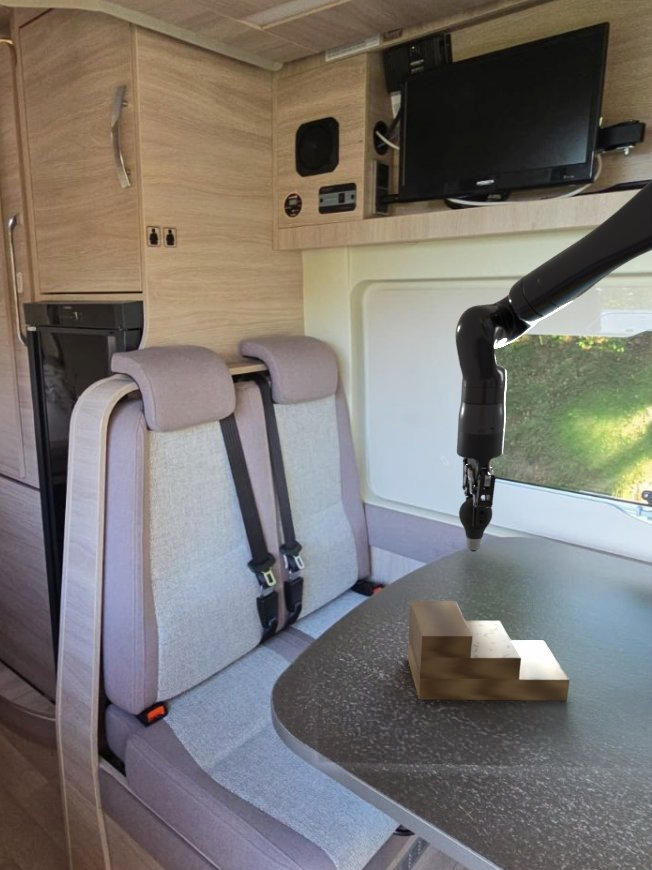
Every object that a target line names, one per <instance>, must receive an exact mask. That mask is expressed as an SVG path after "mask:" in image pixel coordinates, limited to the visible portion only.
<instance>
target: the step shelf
mask: <svg viewBox="0 0 652 870" xmlns="http://www.w3.org/2000/svg"><path fill="white" fill-rule="evenodd" d="M408 622H409V625H408V645H407V646H408V648H407V661H408V665H409V668H410V671H411V675H412V679H413V683H414V685H415V687H414V688H415V690H416V694H417V697H418V700H440V701H441V700H443V701H445V700H447V701H449V700H451V701H452V700H453V701H455V700H457V701H460V700H461V701H540V702H542V701H543V702H544V701H545V702H547V701H550V702H553V701H554V702H567V701H568V694H569V687H570V678H569V677H568V676H567V674H566V672H565V671H564V669H563V668H562V666H561V665H560V663H559V661H558V660H557V659H556V657H555V655H554V654H553V652H552V651H551V649H550V648H549V647H548V644H547V643H546V642H545V640H543V639H542V640H541V639H539V640H538V639H537V640H535V639H534V640H531V639H530V640H528V639H527V640H523V639H522V640H520V639H517V640H512V639H511V638H510V636H509V634H508V633H507V631H506V629H505V628H504V626H503V623H502V622H501V620H466V619H465V618H464V616H463V613H462V611H461V609H460V607H459V605H458V603H457V600H410V601H409V621H408Z"/></svg>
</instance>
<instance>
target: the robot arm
mask: <svg viewBox="0 0 652 870" xmlns="http://www.w3.org/2000/svg"><path fill="white" fill-rule="evenodd" d="M650 251H652V179H651V180H650V181H649V182H648V183H647V184H646V185H645V186H643V187H642V188H641V189H640V190H639V191H638V192H637V193H635V194H634V195H633V196H632V197H631V198H630V199H629V200H628V201H627V202H626V203H625V204H623V205H622V206H621V207H620V208H619V209H618V210H617V211H615V212H614V213H613V214H612V215H610V216H609V217H607V219H606V220H605V221H603V222H602V223H601V224H599V225H597V226H596V228H594V229H593V230H591V231H590V232H589V233H586V235H584V236H583V237H582V238H580V239H579V240H577V241H576V242H574V243H573V244H571V245H570V246H568V247H566V248H565V249H564V250H562V251H561V252H558V254H556V255H554V256H553V257H551V258H549V259H548V260H546V261H545V262H544V263H542V264H540V265H538V266H537V267H536V268H534V269H533V270H531V271H530V272H528V273H527V274H526V275H523V277H521V278H520V279H518V280H517V281H516V282H515V283H514V284H513V285H511V288H510V289H509V291H508V294H507V295H506V296H505V297H504V298H501V299H500V300H498V301H496V302H494V303H486V304H477V305H473V306H470V307H469V308H467V309H466V310H465V311H463V313H462V314H461V315H460V317H459V318H458V321H457V324H456V328H455V347H456V351H457V357H458V358H457V359H458V363H459V364H458V365H459V368H460V371H461V377H462V378H461V391H460V392H461V395H460V404H459V405H460V406H459V412H458V419H457V421H458V422H457V439H456V443H457V444H456V454H457V456H459V457H461V458H463V459H462V487H461V488H462V490H463V494H464V497H465V501H466V500H468V499H470V498H473V523H472V526H473V527H474V528H476V529H478V528H485V527H486V524H487V509H488V508H489V507H491V508H492V507H493V504H494V495H495V494H494V493H495V487H496V479H497V476H496V474H495V473H494V469H493V467H491V461H492V460H493V459H498V458H500V457H501V456H502V455H503V453H504V442H505V431H506V430H505V429H506V415H507V414H506V393H507V381H508V379H507V377H508V375H507V374H508V373H507V370H506V368H505V367H504V366H502V365H500V364H497V360H496V359H497V358H496V350H495V349H498V348H501V347H504V346H506V345H508V344H510V343H513V342H514V341H515V340H517V339H518V338H521V336H523V335H524V334H526V332H528V331H529V330H530V329H532V328H533V327H534V326H535V325H536V324H537V323H538V322H539V321H541V320H543V319H546V318H547V317H549V316H551V315H553V314H554V313H555V312H558V311H559V310H561V309H562V308H565V307H566V306H567V305H569V304H570V303H572V302H573V301H575V300H576V299H578V298H580V297H581V296H583V295H584V294H586V293H587V292H588V291H589V290H590V289H592V288H593V287H594V286H595V285H597V284H598V283H599V282H601V281H602V280H603V279H605V278H606V277H607V276H609V275H610V274H611V273H612V272H614V271H616V270H617V269H619V268H620V267H622V266H624V265H625V264H627V263H629V262H630V261H633V260H634V259H636V258H637V257H640V256H642V255H644V254H646V253H649V252H650ZM482 496H484V500H481V498H482ZM486 528H487V527H486Z"/></svg>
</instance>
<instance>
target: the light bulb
mask: <svg viewBox="0 0 652 870" xmlns="http://www.w3.org/2000/svg"><path fill="white" fill-rule="evenodd" d="M481 500H485V498H482V497H481ZM458 518H459V521H460V523H461V525H462V527H463V529H464V532H465V537H466V548H467V549H468V550H470V552H472V553H475V552H477V551H478V550H480V549H481V547H482V539H483V537H484V532H485V531H486V529H487V528H488V526H489V524H490V523H491V521H492V519H493V508H492V507H489V508H488V509H487V524H486V527H485V528H478V529H476V528H474V527H473V526H472V523H473V498H470V499H468V500H466V499H465V501H463V503H461V505H460V507H459V510H458Z"/></svg>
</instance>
